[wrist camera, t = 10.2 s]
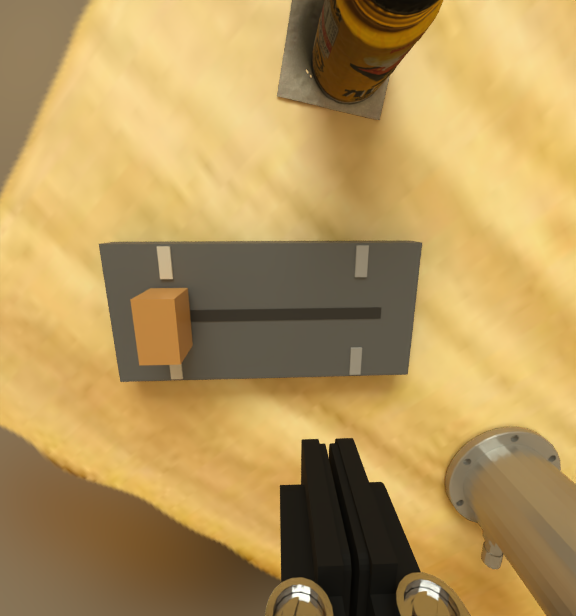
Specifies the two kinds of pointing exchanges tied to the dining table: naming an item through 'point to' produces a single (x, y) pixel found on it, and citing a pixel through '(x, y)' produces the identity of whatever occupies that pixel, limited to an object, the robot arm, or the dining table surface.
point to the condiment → (349, 50)
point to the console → (271, 306)
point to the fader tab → (162, 326)
